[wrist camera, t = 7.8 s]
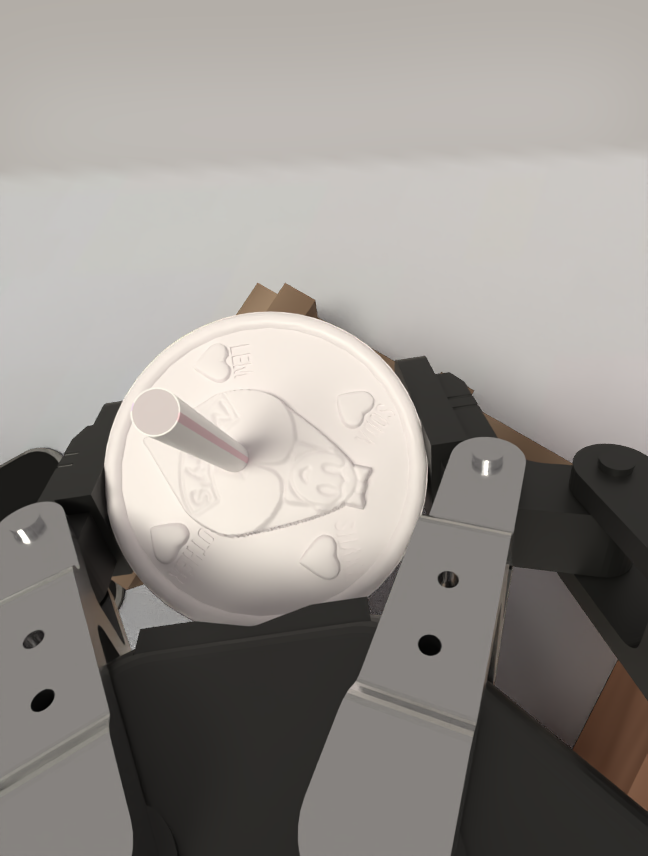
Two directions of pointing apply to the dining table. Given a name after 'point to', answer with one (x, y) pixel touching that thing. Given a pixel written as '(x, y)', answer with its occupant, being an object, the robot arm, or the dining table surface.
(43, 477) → the smartphone
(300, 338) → the smoothie
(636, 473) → the robot arm
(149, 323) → the dining table surface
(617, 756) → the brown pegged rack
